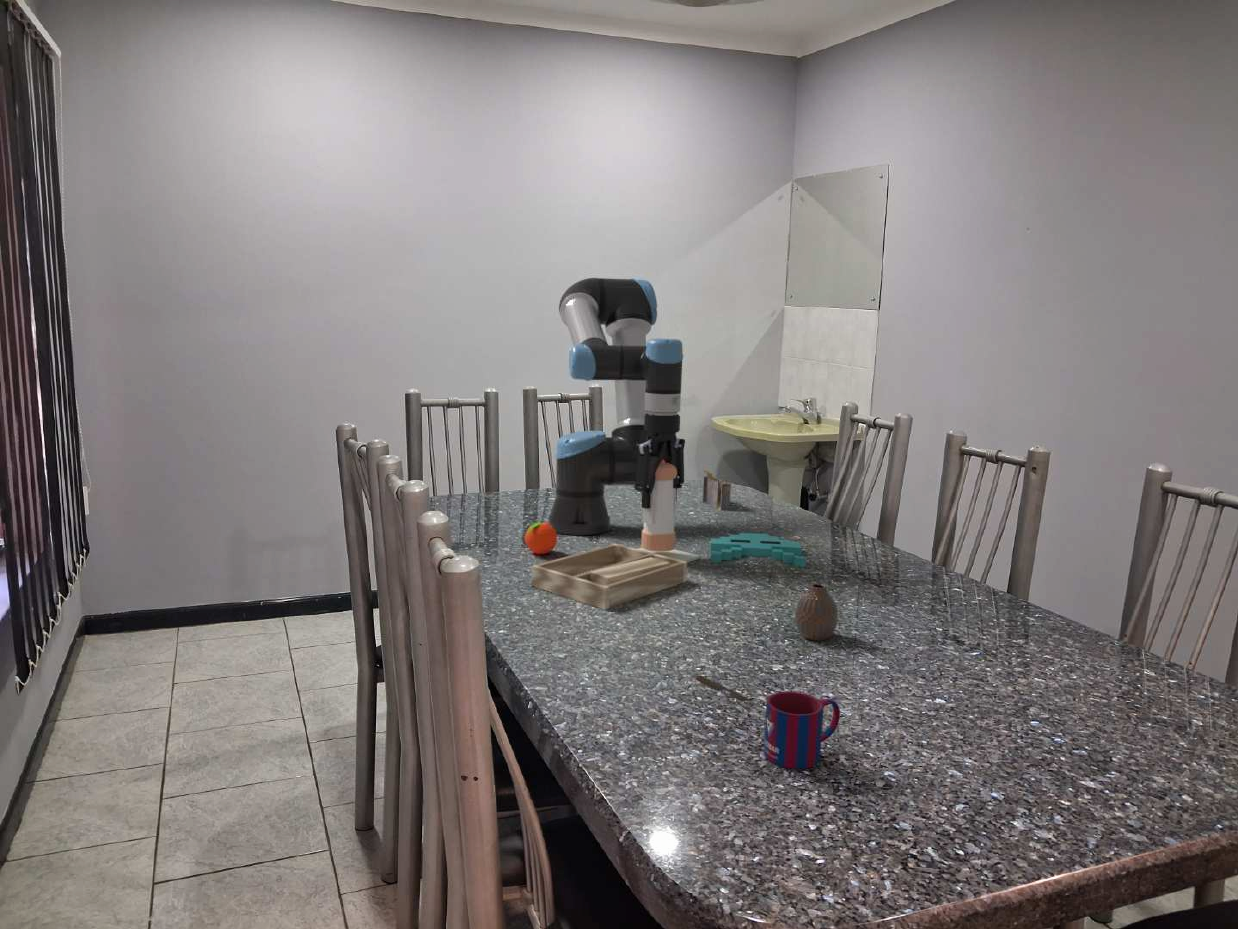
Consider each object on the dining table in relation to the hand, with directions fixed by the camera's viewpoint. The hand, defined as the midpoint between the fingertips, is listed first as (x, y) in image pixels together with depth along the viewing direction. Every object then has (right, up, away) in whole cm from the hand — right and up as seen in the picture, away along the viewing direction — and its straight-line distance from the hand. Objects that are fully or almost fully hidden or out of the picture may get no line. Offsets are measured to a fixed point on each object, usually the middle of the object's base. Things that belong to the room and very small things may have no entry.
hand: (658, 520), depth 192 cm
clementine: (-26, -8, +2) cm, 27 cm away
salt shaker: (0, -6, +1) cm, 6 cm away
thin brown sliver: (+6, -21, -64) cm, 68 cm away
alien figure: (+22, -8, +9) cm, 25 cm away
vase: (+24, -17, -43) cm, 52 cm away
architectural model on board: (+18, 0, +55) cm, 57 cm away
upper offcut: (-6, -10, -21) cm, 24 cm away
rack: (-10, -11, -17) cm, 23 cm away
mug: (+14, -24, -83) cm, 87 cm away
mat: (0, -8, +1) cm, 8 cm away
